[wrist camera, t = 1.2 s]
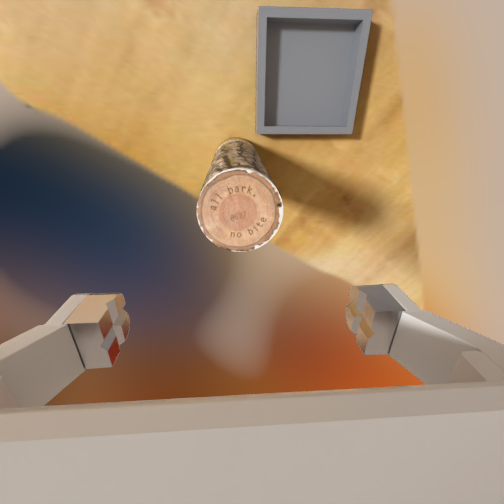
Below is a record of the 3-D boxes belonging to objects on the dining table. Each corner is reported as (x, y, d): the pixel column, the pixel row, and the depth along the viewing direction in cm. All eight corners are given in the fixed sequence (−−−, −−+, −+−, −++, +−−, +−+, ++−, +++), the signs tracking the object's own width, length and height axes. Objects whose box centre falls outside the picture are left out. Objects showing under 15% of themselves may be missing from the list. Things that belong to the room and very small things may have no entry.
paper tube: (209, 142, 42) (183, 182, 20) (252, 131, 41) (274, 158, 19) (222, 185, 45) (211, 260, 23) (261, 175, 44) (290, 241, 22)
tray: (256, 13, 35) (258, 6, 32) (362, 16, 35) (373, 9, 33) (255, 132, 41) (257, 133, 39) (344, 132, 42) (352, 134, 39)
